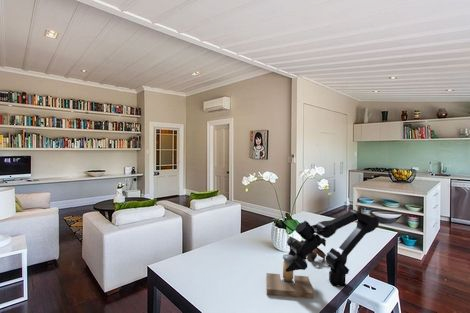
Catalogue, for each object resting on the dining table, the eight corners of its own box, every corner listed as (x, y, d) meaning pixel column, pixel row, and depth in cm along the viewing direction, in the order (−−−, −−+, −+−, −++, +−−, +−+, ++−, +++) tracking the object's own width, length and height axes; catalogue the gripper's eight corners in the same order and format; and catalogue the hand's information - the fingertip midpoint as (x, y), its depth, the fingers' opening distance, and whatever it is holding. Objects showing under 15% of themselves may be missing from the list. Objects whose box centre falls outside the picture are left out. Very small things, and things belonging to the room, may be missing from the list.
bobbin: (293, 281, 120) (293, 254, 120) (294, 287, 114) (295, 259, 114) (281, 280, 121) (282, 253, 120) (282, 286, 115) (283, 258, 115)
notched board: (308, 281, 120) (308, 276, 120) (313, 298, 106) (313, 293, 106) (266, 278, 122) (266, 273, 122) (266, 294, 108) (266, 289, 108)
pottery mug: (308, 256, 150) (315, 245, 149) (321, 267, 144) (329, 256, 144) (301, 257, 140) (309, 246, 140) (315, 270, 135) (324, 258, 134)
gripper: (295, 226, 126) (272, 246, 127) (300, 239, 107) (274, 262, 109) (310, 242, 125) (287, 262, 127) (318, 258, 106) (291, 281, 108)
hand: (285, 266), depth 117 cm, fingers open, 9 cm apart
